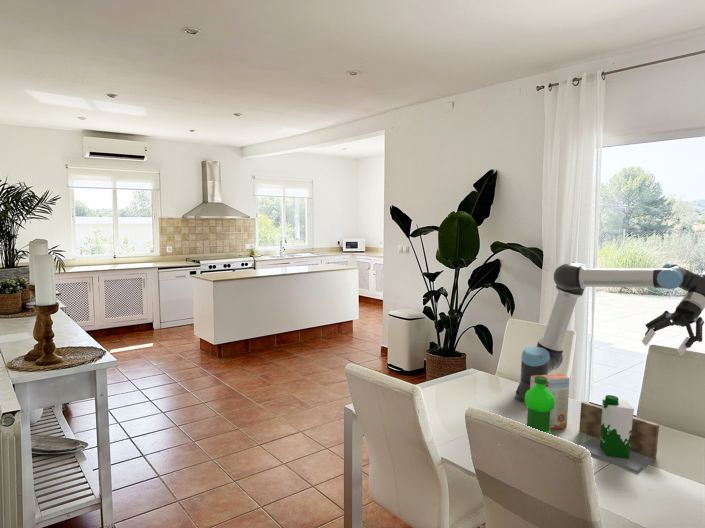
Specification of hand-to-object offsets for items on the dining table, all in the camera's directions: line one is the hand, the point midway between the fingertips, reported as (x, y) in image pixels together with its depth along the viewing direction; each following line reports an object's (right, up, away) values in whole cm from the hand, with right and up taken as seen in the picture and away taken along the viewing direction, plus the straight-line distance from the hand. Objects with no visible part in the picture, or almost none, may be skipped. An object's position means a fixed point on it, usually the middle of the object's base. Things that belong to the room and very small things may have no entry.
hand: (661, 347), depth 176 cm
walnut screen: (-18, -35, -1) cm, 40 cm away
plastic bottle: (-48, -35, -3) cm, 59 cm away
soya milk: (-23, -35, -10) cm, 43 cm away
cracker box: (-38, -34, +12) cm, 52 cm away
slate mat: (-23, -36, -10) cm, 44 cm away
